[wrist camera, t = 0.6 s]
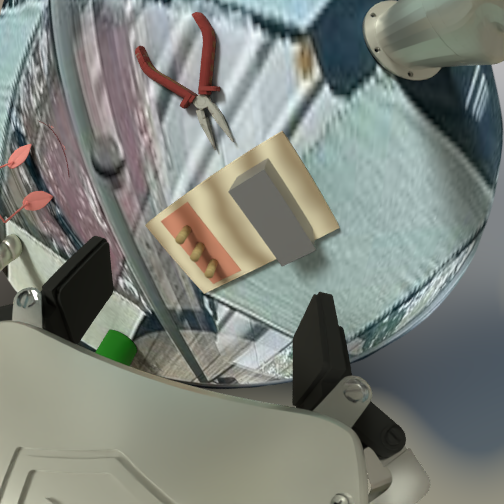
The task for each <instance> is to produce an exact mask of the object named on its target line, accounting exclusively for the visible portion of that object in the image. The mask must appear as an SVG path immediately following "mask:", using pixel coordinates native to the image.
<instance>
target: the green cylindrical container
mask: <svg viewBox="0 0 504 504" xmlns="http://www.w3.org/2000/svg"><path fill="white" fill-rule="evenodd" d="M136 352H137V348H136V346H135V344H134V343H133V342H132V341H131V340H130V339H129V338H128V337H127V336H125V335H124V334H122V333H120V332H118V331H115V330H109V331H108V333H107V334H106V336H105V338H104V339H103V341H102V342H101V344H100V346H99V347H98V349H97V351H96V352H95V353H96V354H99V355H101V356H104V357H106V358H109V359H111V360H114V361H116V362H119V363H122V364H124V365H127V366H130V364H131V362H132V360H133V358H134V356H135V354H136Z"/></svg>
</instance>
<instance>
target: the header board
mask: <svg viewBox="0 0 504 504" xmlns="http://www.w3.org/2000/svg"><path fill="white" fill-rule="evenodd" d="M267 158H268V159H269V160H270V161H271V163H272V164H273V166H274V167H275V169H276V170H277V172H278V174H279V175H280V177H281V178H282V180H283V181H284V183H285V184H286V186H287V187H288V189H289V190H290V192H291V194H292V195H293V197H294V198H295V200H296V202H297V203H298V205H299V206H300V208H301V210H302V211H303V213H304V214H305V216H306V218H307V219H308V221H309V223H310V224H311V226H312V228H313V234H314V240H316V239H318V238H320V237H322V236H324V235H326V234H328V233H330V232H332V231H334V230H336V229H338V228H339V225H338V222H337V221H336V219H335V217H334V215H333V213H332V211H331V210H330V208H329V206H328V204H327V202H326V201H325V199H324V197H323V195H322V194H321V192H320V190H319V188H318V187H317V185H316V183H315V182H314V180H313V178H312V177H311V175H310V173H309V172H308V170H307V168H306V167H305V165H304V163H303V162H302V160H301V159H300V157H299V155H298V154H297V152H296V151H295V149H294V148H293V146H292V144H291V143H290V141H289V140H288V138H287V137H286V135H285V134H284V132H283V131H281V132H279V133H278V134H276V135H274V136H273V137H271V138H269V139H268V140H266V141H264V142H263V143H261V144H260V145H258V146H256V147H255V148H253V149H251V150H250V151H248V152H247V153H245V154H244V155H242V156H240V157H239V158H237V159H236V160H234V161H233V162H231V163H230V164H228V165H227V166H225V167H224V168H222V169H221V170H219V171H218V172H216V173H215V174H213V175H212V176H210V177H209V178H207V179H206V180H205V181H203V182H202V183H200V184H199V185H197V186H196V187H195V188H193V189H192V190H190V191H189V192H188V193H186V194H185V195H184V196H182V197H181V198H179V199H178V200H177V201H175V202H174V203H173V204H171V205H170V206H169V207H167V208H166V209H165V210H163V211H162V212H161V213H159V214H158V215H157V216H156V217H154V218H153V219H152V220H150V221H149V222H148V223H147V224H146V225H145V226H146V227H147V228H148V229H149V230H150V232H151V233H152V234H153V235H154V236H155V238H156V239H157V240H158V241H159V242H160V244H161V245H162V246H163V247H164V248H165V250H166V251H167V252H168V253H169V254H170V255H171V257H172V258H173V259H174V260H175V261H176V262H177V264H178V265H179V266H180V267H181V268H182V269H183V270H184V272H185V273H186V274H187V275H188V276H189V277H190V278H191V279H192V281H193V282H194V283H195V284H196V285H197V286H198V287H199V288H200V289H201V291H202V292H203V293H207V292H209V291H211V290H213V289H215V288H217V287H219V286H221V285H223V284H226V283H228V282H230V281H232V280H234V279H236V278H238V277H240V276H242V275H244V274H246V273H249V272H251V271H253V270H255V269H257V268H259V267H261V266H263V265H265V264H267V263H269V262H271V261H273V260H275V259H276V257H275V256H274V255H273V253H272V252H271V250H270V249H269V248H268V246H267V245H266V243H265V242H264V241H263V239H262V238H261V236H260V235H259V234H258V232H257V231H256V229H255V228H254V227H253V225H252V224H251V223H250V221H249V220H248V218H247V217H246V216H245V214H244V213H243V211H242V210H241V209H240V207H239V206H238V205H237V203H236V202H235V200H234V199H233V198H232V196H231V195H230V194H229V192H228V191H229V189H230V188H231V186H232V185H233V183H234V181H235V180H236V178H237V177H238V176H239V175H241V174H242V173H244V172H246V171H247V170H249V169H250V168H252V167H254V166H255V165H257V164H259V163H260V162H262V161H264V160H265V159H267Z"/></svg>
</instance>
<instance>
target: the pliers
mask: <svg viewBox="0 0 504 504" xmlns="http://www.w3.org/2000/svg"><path fill="white" fill-rule="evenodd" d="M192 16H193V18H194V19H195V21H196V23H197V24H198V26H199V28H200V30H201V32H202V36H203V49H202V58H201V68H200V79H199V88H198V91H199V92H198V94H200V95H197V94H196V93H194V92H192V91H191V90H189V89H188V88H186V87H184V86H183V85H181V84H179V83H178V82H176V81H174V80H173V79H171V78H169V77H167V76H166V75H164V74H162V73H161V72H159V71H158V70H157V69H156V68H155V67H154V66H153V65H152V63H151V61H150V59H149V57H148V54H147V52H146V50H145V48H144V47H143V46H139V47H137V48H136V50H135V55H136V57H137V59H138V62H139V64H140V67H141V69H142V70H143V72H144V73H145V74H146V75H147V76H148V77H149V78H151V79H152V80H154V81H155V82H157V83H159V84H161V85H162V86H164V87H166V88H167V89H169V90H171V91H172V92H174V93H175V94H177V95H179V96H180V97H182V98H183V101H182V102H181V104H180V107H182V108H184V109H185V108H188V107H189V105H190V104H191V103H192V104H194V105H195V106H196V107H197V109H198V110H196V113H197V116H198V119H199V122H200V125H201V126H202V128H203V130H204V132H205V133H206V135H207V137H208V139H209V141H210V142H211V144H212V146H213V148H214V150H216V147H215V143H214V138H213V134H212V129H211V125H210V121H209V117H205V113H204V109H206V108H207V109H208V110H209V112H210V113H211V114H212V117H213V118H214V119H215V121H216V122H217V123H218V124H219V126H220V127H221V128H222V129H223V131H224V132H225V133H226V134H227V136H228V137H229V138H230V139H231V141H232V142H234V140H233V138H232V136H231V133H230V131H229V129H228V126H227V124H226V122H225V119H224V117H223V115H222V113H221V111H220V110H219V108H218V107H217V106H216V104H215V103H212V101H211V98H210V95H211V91H220V87H218V86H212V78H213V67H214V57H215V48H216V38H215V33H214V30H213V28H212V26H211V25H210V23H209V22H208V20H207V19H206V17H205V16H204V15H203V14H202V13H199V12H195V13H193V14H192Z"/></svg>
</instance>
